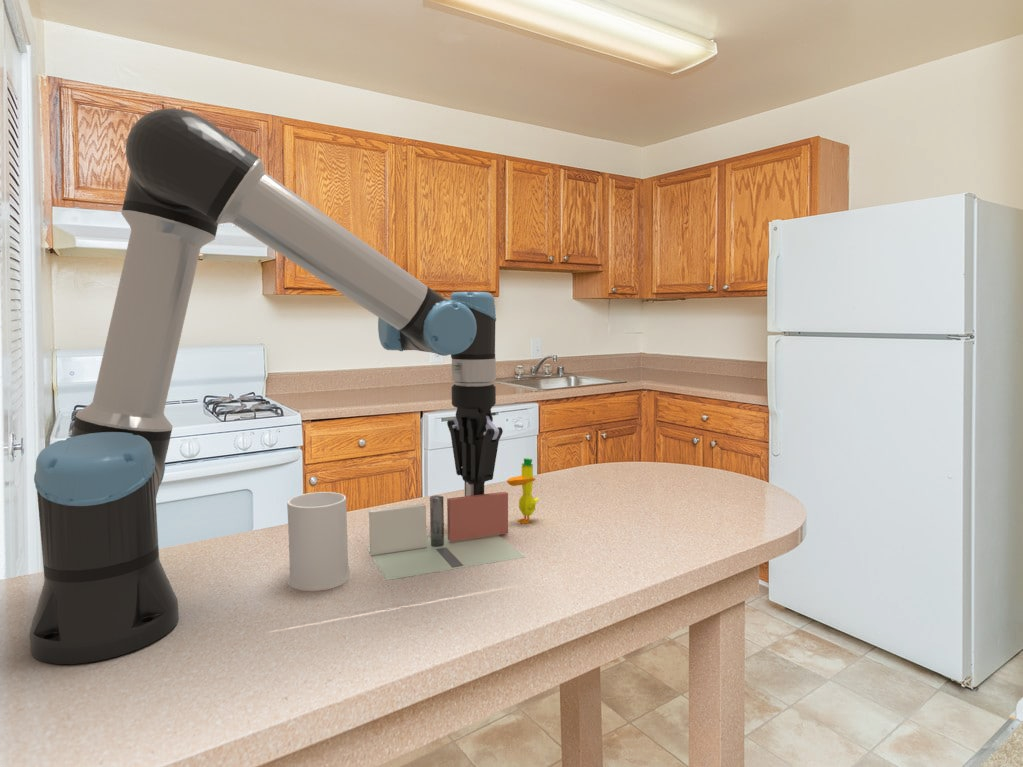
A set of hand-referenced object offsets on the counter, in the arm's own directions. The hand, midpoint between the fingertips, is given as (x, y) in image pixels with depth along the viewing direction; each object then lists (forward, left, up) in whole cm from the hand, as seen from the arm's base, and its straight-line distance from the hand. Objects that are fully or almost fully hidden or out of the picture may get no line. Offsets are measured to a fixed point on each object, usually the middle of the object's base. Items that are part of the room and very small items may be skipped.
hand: (474, 518), depth 112 cm
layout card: (-8, -7, -3) cm, 10 cm away
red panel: (0, -3, -2) cm, 4 cm away
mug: (-28, -8, -3) cm, 29 cm away
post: (-8, -3, -3) cm, 9 cm away
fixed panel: (-14, -3, -3) cm, 15 cm away
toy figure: (+10, +2, -3) cm, 11 cm away
